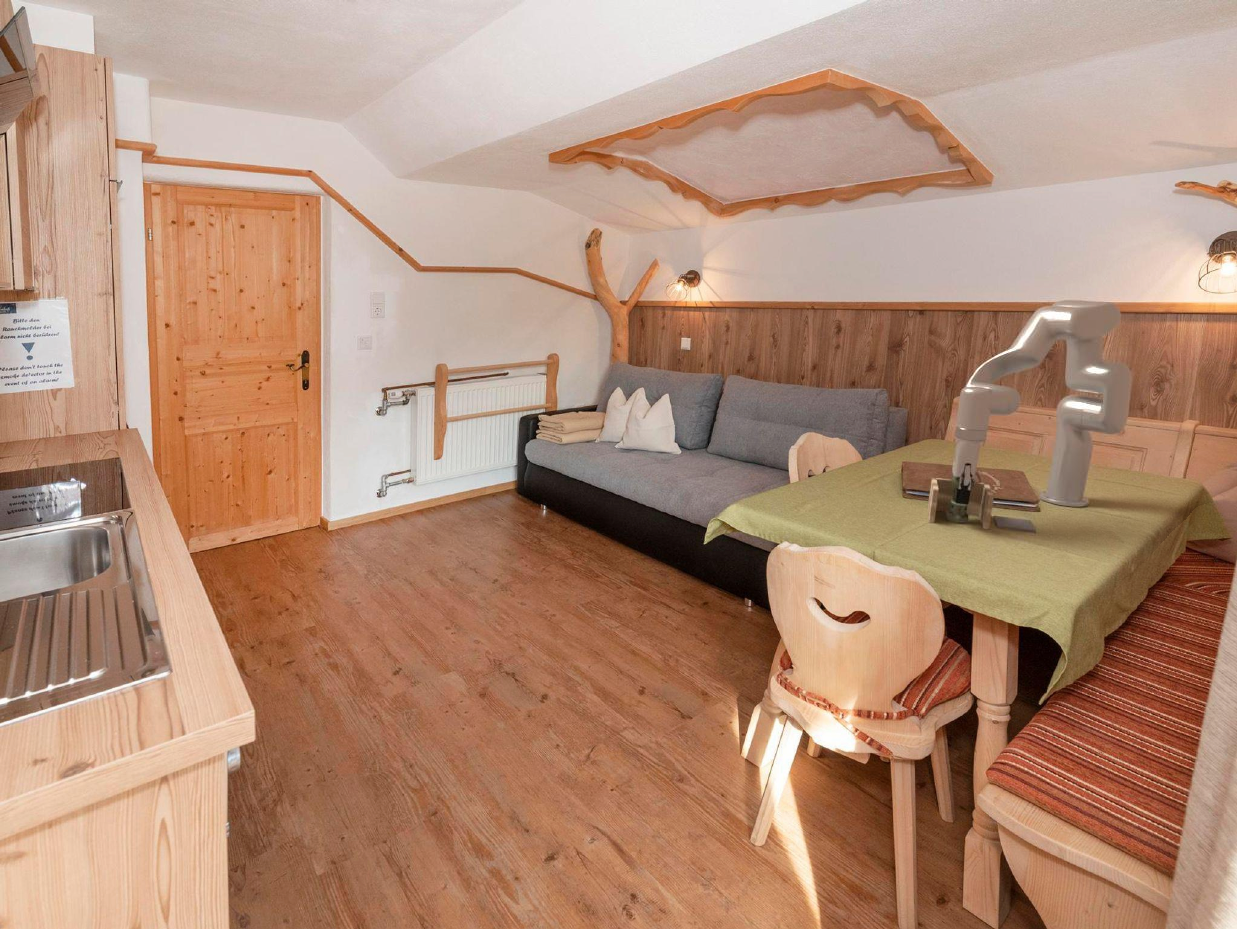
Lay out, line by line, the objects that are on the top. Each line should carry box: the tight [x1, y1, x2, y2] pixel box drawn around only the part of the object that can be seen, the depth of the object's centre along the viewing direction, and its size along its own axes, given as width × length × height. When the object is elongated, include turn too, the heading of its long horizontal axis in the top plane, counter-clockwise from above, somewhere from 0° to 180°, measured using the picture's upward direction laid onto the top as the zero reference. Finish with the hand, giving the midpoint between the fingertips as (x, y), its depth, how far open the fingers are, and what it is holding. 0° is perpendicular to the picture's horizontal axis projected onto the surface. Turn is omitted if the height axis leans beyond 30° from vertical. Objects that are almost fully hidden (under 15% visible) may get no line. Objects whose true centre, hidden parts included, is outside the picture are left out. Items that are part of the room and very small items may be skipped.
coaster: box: [993, 515, 1037, 534], centre depth 194 cm, size 9×9×1 cm
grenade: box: [945, 467, 982, 524], centre depth 194 cm, size 7×7×15 cm
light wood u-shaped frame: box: [927, 477, 995, 531], centre depth 198 cm, size 13×14×9 cm
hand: (960, 499), depth 195 cm, fingers closed on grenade, 6 cm apart
